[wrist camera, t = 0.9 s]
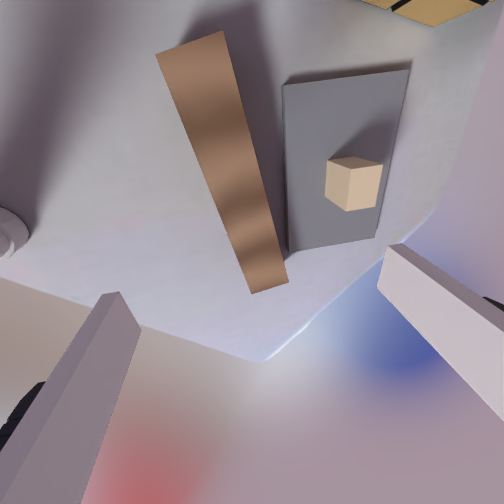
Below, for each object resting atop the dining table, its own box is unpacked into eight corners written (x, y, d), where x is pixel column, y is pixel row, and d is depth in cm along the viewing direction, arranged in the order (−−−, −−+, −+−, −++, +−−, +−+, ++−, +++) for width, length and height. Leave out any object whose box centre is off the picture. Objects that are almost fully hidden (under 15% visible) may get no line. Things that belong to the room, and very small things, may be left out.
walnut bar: (167, 67, 19) (155, 54, 15) (221, 47, 19) (222, 29, 15) (247, 273, 32) (251, 294, 28) (280, 262, 32) (288, 282, 28)
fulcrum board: (281, 86, 21) (302, 76, 16) (401, 70, 21) (460, 56, 16) (287, 248, 30) (301, 275, 25) (370, 234, 31) (400, 257, 26)
